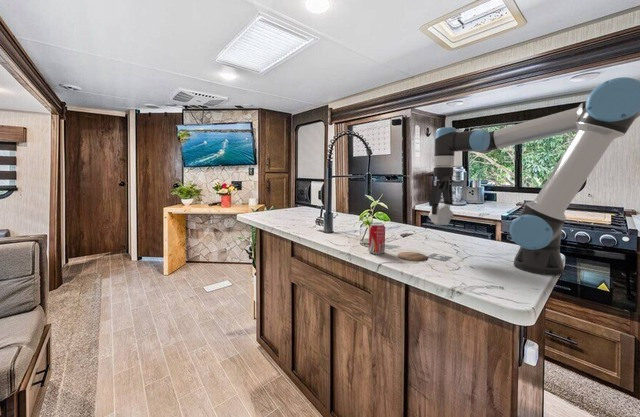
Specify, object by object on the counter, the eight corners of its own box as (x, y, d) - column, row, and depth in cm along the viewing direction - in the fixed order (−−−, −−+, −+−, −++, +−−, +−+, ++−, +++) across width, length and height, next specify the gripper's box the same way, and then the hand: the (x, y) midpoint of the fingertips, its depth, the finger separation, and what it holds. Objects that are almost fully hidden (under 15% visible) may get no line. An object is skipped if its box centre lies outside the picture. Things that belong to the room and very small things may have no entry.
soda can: (386, 252, 133) (387, 223, 131) (381, 255, 127) (382, 226, 125) (372, 249, 137) (372, 222, 135) (365, 253, 131) (366, 224, 129)
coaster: (432, 257, 125) (432, 256, 125) (418, 263, 117) (418, 261, 117) (406, 251, 134) (406, 250, 134) (392, 256, 126) (392, 255, 125)
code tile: (452, 257, 125) (452, 257, 125) (444, 261, 120) (444, 260, 120) (434, 253, 131) (434, 253, 131) (425, 257, 125) (425, 256, 125)
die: (449, 228, 117) (460, 208, 119) (429, 217, 118) (440, 196, 120) (440, 232, 125) (451, 212, 128) (422, 221, 127) (432, 202, 129)
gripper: (446, 167, 131) (443, 217, 134) (421, 166, 115) (418, 222, 118) (463, 167, 125) (460, 219, 128) (440, 166, 110) (437, 225, 113)
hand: (440, 220), depth 123 cm, fingers closed on die, 10 cm apart
